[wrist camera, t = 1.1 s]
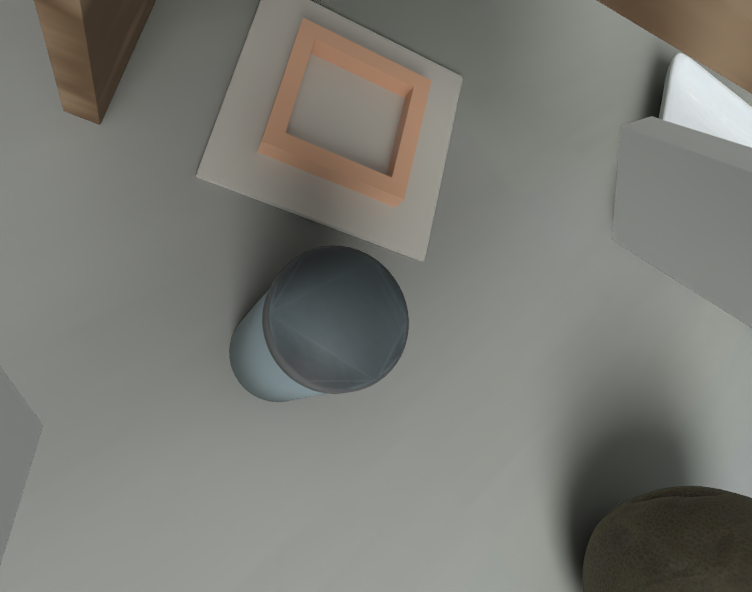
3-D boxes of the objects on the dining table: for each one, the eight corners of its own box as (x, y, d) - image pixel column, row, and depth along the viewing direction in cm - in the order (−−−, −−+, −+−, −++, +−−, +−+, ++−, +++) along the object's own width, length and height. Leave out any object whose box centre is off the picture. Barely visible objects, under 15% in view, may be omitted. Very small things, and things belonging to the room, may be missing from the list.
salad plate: (794, 176, 59) (830, 163, 56) (772, 355, 51) (812, 351, 48) (648, 65, 54) (679, 43, 51) (601, 246, 46) (633, 233, 43)
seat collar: (195, 177, 34) (198, 163, 32) (267, -17, 39) (272, -37, 37) (422, 261, 39) (434, 254, 37) (460, 79, 44) (473, 65, 42)
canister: (213, 388, 32) (247, 368, 21) (245, 289, 34) (290, 225, 23) (314, 414, 34) (392, 409, 23) (338, 319, 36) (420, 273, 25)
